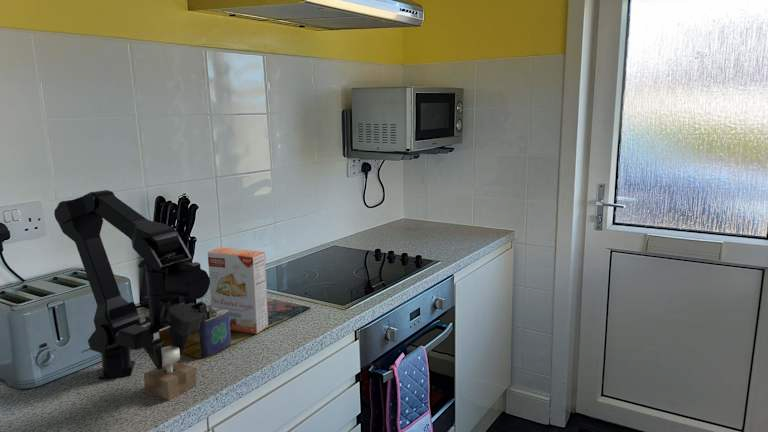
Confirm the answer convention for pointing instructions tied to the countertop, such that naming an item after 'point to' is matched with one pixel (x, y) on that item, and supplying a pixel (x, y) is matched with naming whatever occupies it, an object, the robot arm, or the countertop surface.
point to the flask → (215, 333)
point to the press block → (170, 381)
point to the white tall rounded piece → (170, 357)
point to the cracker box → (239, 287)
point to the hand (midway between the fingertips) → (169, 364)
